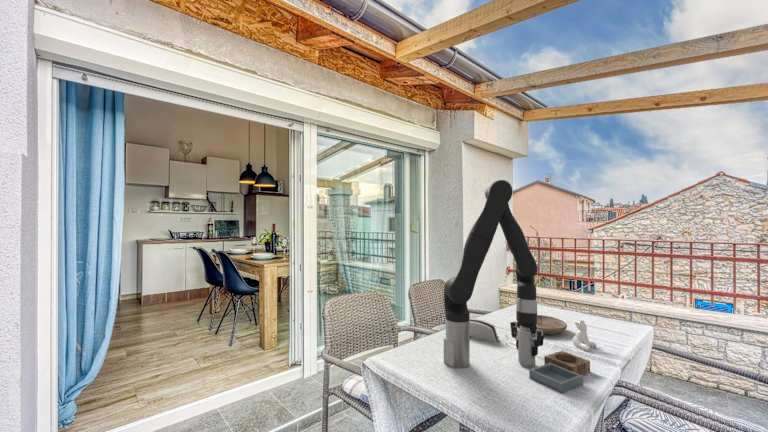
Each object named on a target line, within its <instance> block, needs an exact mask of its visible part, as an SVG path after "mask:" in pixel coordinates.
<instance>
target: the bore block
mask: <svg viewBox="0 0 768 432" xmlns="http://www.w3.org/2000/svg"><path fill="white" fill-rule="evenodd" d="M549 363H552V364H554V365H557V366H559V367H562V368H564V369H567V370H569V371H572V372H574V373H577V374H579V375H582V376H584V375H586V374H588V373H590V372H591V360H589V359H585V358H583V357H581V356H578V355H574V354H572V353H570V352H569V353H568V352H566V351H563V350H561V351H560V350H559V351H557V352H553V353H549V354H547V355H544V365H546V364H549Z"/></svg>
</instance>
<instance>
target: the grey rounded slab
mask: <svg viewBox="0 0 768 432" xmlns="http://www.w3.org/2000/svg"><path fill="white" fill-rule="evenodd" d="M495 326H496V325H494V324H493V323H490V322H488V321H485V320H482V319H478V318H470V337H471V338H476V339H479V340H480V339H481V340H483V341H488V342H492V343H497V340H500V337H499V335H498V333H497V330H496V327H495Z"/></svg>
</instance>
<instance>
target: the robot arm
mask: <svg viewBox="0 0 768 432" xmlns="http://www.w3.org/2000/svg"><path fill="white" fill-rule="evenodd" d="M513 193H514V192H513V187H512V184H510V182H509V181H507V180H505V179H500V180H495V181H494V182H492V183H490V184H489V185H487V187H486V189H485V191H484V195H485V196H484V197H485V198H486V200H485V204H484V206H483V209H482V211H481V213H480V215H479V216H478V217H477V219H476V221H475V222H474V223H473V225H472V227H471V229H470V231H469V233H468V234H467V237H466V241H465V243H464V247H463V252H462V261H461V265H460V268H459V271H458V272H457V275H456V277H455V276H453V277H450V278H449V279H447V281H446V282H445V284H444V289H443V297H444V298H443V299H444V300H443V302H444V303H443V304H444V313H445V337H444V338H443V363H444V364H446V365H447V366H450V367H451V368H453V369H456V368H458V369H459V368H460V369H461V368H462V369H463V368H467V367H468V366H470V363H471V362H470V361H471V360H470V352H471V351H470V345H471V343H470V339H471V338H470V337H471V336H470V319H471V318H470V312H469V309H468V302H469V301H470V299H471V298H472V295H473V293H474V290H475V286H476V282H477V280H478V275H479V272H480V271H481V268H482V267H483V264H484V261H485V259H486V257H487V254H488V253H489V250H490V247H491V245H492V242H493V240H494V237H495V235H496V232H497V230H498V227H499V226H500V228H501V230H502V232H503V233H502V234H503V236H504V238H505V240H506V244H507V246H508V249H509V251H510V253H511V255H513V259H514V262H515V277H516V278H515V279H516V283H517V284H516V285H517V286H516V287H517V288H516V301H515V302H516V307H515V308H516V309H515V310H516V312H515V313H516V314H515V315H516V317H515V318H516V321H511V322H510V332H511V337H512V338H514V339H515V342H516V343H515V345H516V349H517V351H518V329H519V328H520V325H521V326H524V327H528V328H530V332H531V334H532V335H533V334H535V337H534V338H532V337H531V335H530V334H529V340H530V341H531V344H532V356H535V357H537V356H538V354H539V350H538V349H539V347H543V346H544V339H545V334H544V331H543V330H539V329H537V326H536V324H537V315H538V301H537V287H536V284H535V277H536V275H537V274H538V270H539V268H538V264H537V262H536V259H535V258H534V256H533V254H532V252H531V250H530V248H529V245H528V242H527V239H526V236H525V234H524V231H523V230H522V228H521V226H520V224H519V223H518V221H517V219H516V218H515V217H514V215H513V213H512V210H511V209H510V208H511V207H510V204H509V202H510V201H511V199H512V196H513ZM526 329H527V328H526ZM527 331H528V329H527ZM534 342H535V343H534Z"/></svg>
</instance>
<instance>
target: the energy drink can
mask: <svg viewBox="0 0 768 432" xmlns="http://www.w3.org/2000/svg"><path fill="white" fill-rule="evenodd" d="M526 328H527V329H528V331H527V329H526ZM517 330H518V350H517V351H518V356H517V357H518V361H517V362H518V363H519V365H520V366H523V367H524V368H534V367H535V364H536V356H532V344H531V341H530V340H529V334H530V335H531V337H532V338H534V337H535V334H533V335H532V334H531V332H530V328H528V327H524V326H521V325H520V328H519V329H518V328H517ZM534 343H535V342H534Z"/></svg>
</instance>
